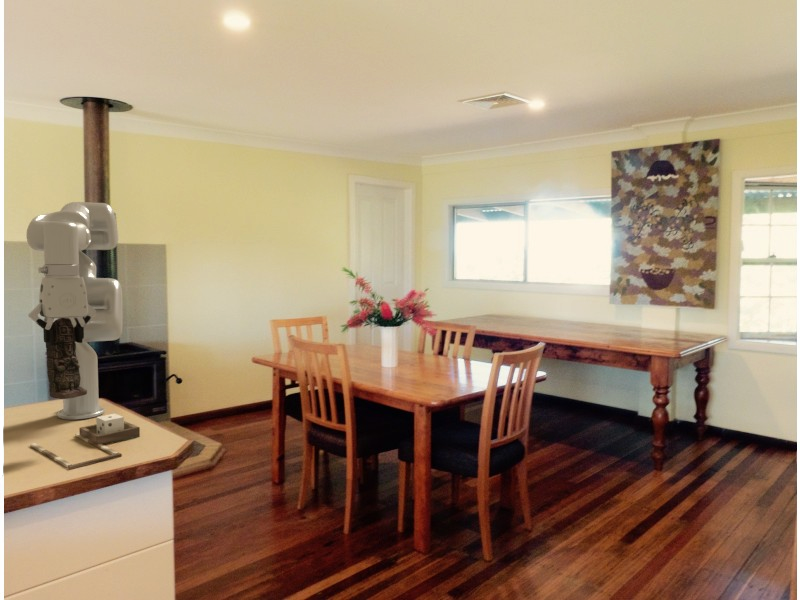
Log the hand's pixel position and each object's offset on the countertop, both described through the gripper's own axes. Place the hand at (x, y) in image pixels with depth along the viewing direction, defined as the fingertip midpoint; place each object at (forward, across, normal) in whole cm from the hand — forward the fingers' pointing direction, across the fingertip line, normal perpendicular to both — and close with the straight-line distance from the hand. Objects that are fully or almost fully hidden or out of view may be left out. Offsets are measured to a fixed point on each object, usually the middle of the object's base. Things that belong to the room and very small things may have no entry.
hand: (64, 343), depth 155 cm
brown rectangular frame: (+27, 0, -3) cm, 27 cm away
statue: (+14, 0, 0) cm, 14 cm away
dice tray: (+27, +11, +1) cm, 29 cm away
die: (+26, +11, +1) cm, 29 cm away
